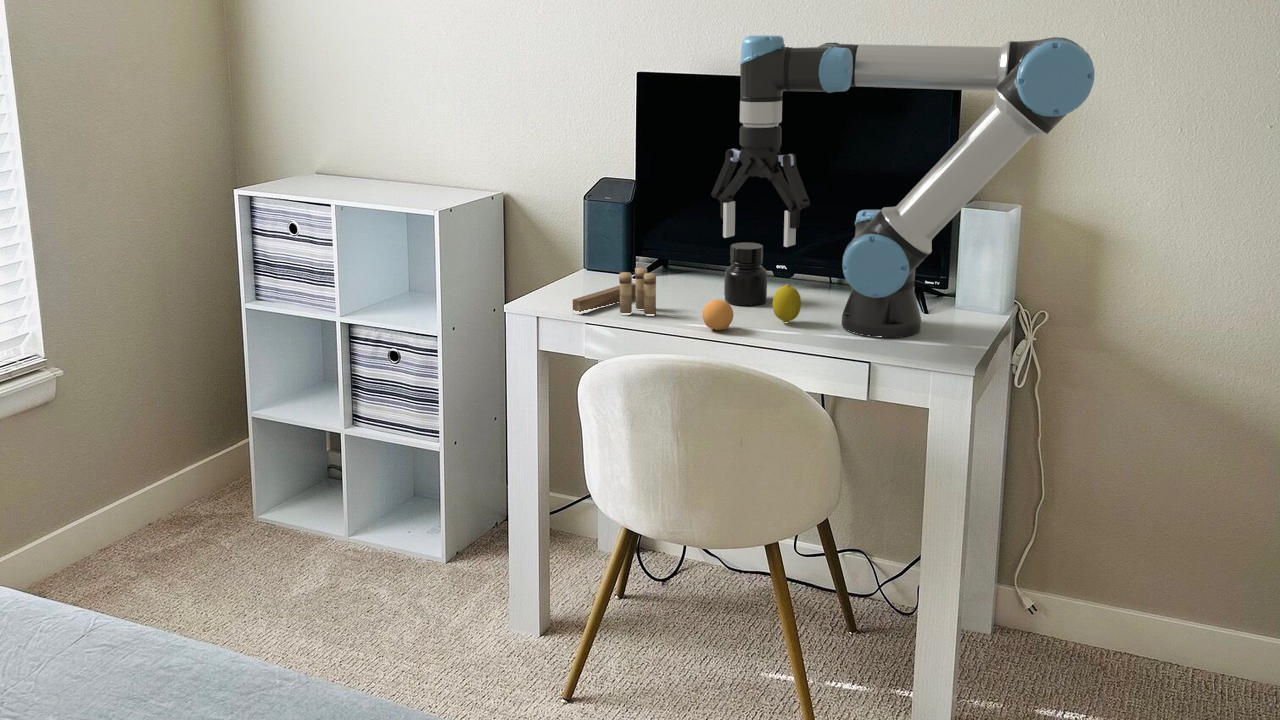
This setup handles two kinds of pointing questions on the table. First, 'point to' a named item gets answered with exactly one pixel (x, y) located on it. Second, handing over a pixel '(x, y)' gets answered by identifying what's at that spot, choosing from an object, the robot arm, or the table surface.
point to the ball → (717, 314)
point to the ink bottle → (746, 275)
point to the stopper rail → (600, 298)
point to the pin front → (649, 293)
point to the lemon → (786, 303)
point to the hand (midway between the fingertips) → (758, 241)
